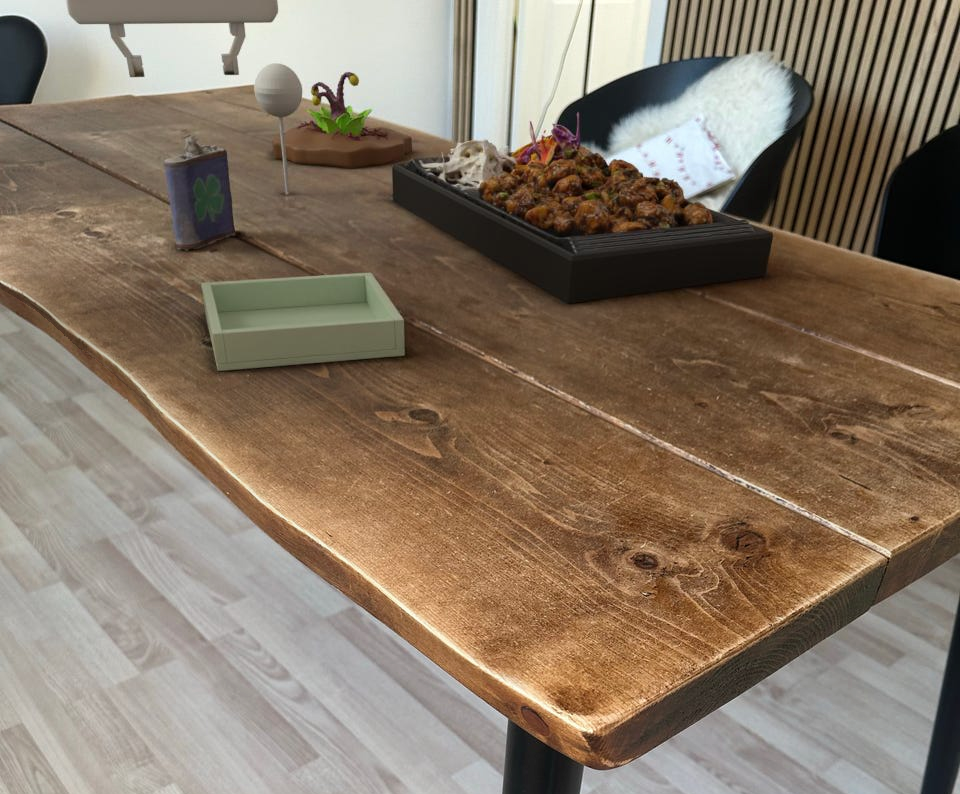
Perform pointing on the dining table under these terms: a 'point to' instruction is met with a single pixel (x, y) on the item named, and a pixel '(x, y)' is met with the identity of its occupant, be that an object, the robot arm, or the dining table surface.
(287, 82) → the lollipop
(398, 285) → the dining table surface
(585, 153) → the food platter
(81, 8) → the robot arm
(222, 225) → the flask
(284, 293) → the tray
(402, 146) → the plant
